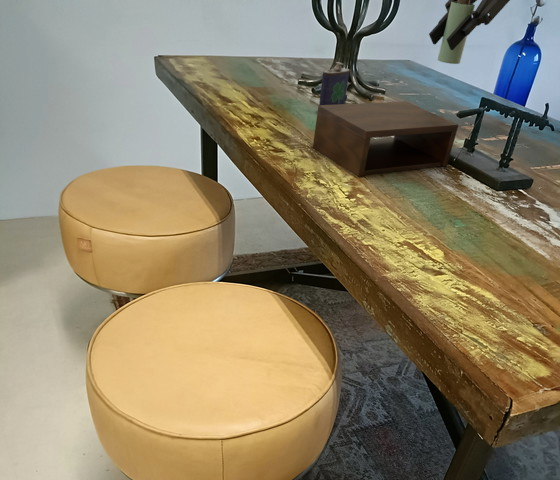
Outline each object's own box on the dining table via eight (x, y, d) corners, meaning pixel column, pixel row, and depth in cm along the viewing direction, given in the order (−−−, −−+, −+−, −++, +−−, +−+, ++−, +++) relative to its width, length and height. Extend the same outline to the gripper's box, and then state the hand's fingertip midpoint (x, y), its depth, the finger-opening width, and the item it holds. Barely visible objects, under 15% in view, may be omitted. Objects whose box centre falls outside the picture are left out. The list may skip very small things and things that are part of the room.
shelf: (446, 166, 113) (458, 124, 108) (358, 176, 104) (366, 131, 99) (397, 140, 124) (406, 101, 119) (312, 147, 114) (318, 105, 109)
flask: (337, 107, 140) (345, 58, 133) (347, 110, 139) (355, 61, 132) (315, 112, 134) (321, 62, 127) (324, 116, 133) (332, 65, 126)
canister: (464, 63, 127) (481, 0, 119) (447, 64, 124) (464, -1, 117) (449, 58, 130) (465, -4, 122) (432, 58, 128) (447, -5, 120)
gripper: (557, -24, 117) (474, 65, 120) (493, -35, 128) (420, 47, 132) (550, -59, 111) (464, 36, 114) (484, -67, 123) (408, 19, 126)
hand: (440, 41), depth 123 cm, fingers closed on canister, 5 cm apart
